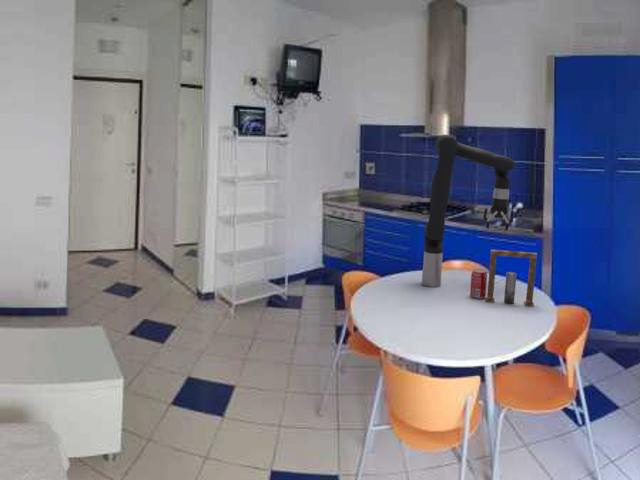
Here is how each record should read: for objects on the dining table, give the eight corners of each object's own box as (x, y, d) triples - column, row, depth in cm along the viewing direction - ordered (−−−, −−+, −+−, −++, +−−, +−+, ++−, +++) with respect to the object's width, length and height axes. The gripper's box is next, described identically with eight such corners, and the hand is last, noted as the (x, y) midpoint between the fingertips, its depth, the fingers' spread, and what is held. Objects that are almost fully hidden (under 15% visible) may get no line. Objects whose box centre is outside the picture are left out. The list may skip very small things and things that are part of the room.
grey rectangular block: (504, 303, 242) (506, 274, 239) (503, 300, 246) (506, 271, 243) (514, 304, 240) (516, 275, 238) (513, 301, 245) (516, 272, 242)
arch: (485, 301, 244) (489, 251, 239) (485, 298, 249) (489, 249, 244) (533, 306, 238) (539, 255, 233) (533, 303, 242) (538, 252, 238)
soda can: (486, 299, 247) (488, 273, 244) (470, 298, 248) (472, 272, 246) (484, 295, 254) (486, 269, 251) (469, 294, 255) (471, 268, 252)
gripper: (486, 197, 261) (482, 229, 264) (516, 199, 258) (512, 232, 261) (485, 195, 268) (481, 227, 271) (515, 198, 265) (511, 230, 268)
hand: (496, 229), depth 266 cm, fingers open, 8 cm apart
